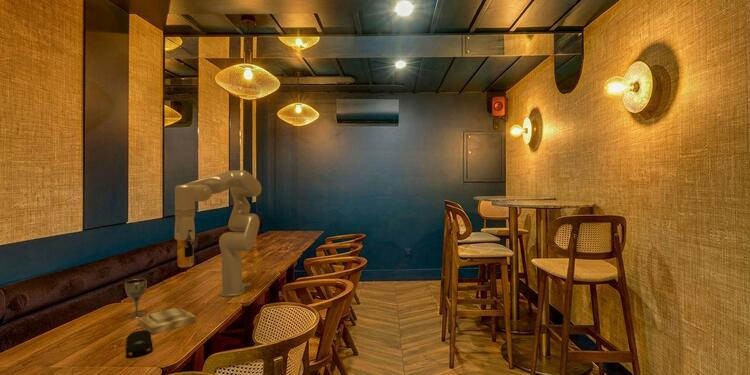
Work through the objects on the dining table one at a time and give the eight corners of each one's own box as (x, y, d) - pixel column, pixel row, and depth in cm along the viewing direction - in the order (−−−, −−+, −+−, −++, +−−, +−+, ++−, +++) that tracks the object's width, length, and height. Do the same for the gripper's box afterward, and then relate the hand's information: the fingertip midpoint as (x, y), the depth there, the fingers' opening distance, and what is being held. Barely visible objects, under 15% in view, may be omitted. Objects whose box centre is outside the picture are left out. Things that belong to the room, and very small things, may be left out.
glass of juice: (181, 265, 157) (181, 230, 157) (195, 264, 158) (195, 230, 158) (174, 267, 151) (174, 232, 151) (190, 267, 152) (189, 231, 152)
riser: (180, 313, 158) (180, 304, 158) (195, 322, 148) (195, 312, 148) (138, 324, 146) (138, 314, 146) (151, 335, 136) (151, 324, 136)
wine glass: (151, 313, 159) (150, 279, 159) (133, 319, 152) (132, 284, 152) (140, 311, 162) (139, 277, 162) (121, 317, 155) (120, 282, 155)
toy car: (125, 361, 116) (125, 345, 116) (126, 342, 130) (125, 328, 130) (153, 354, 121) (152, 339, 121) (150, 337, 134) (150, 324, 134)
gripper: (167, 213, 158) (168, 255, 157) (184, 214, 146) (184, 259, 146) (185, 212, 163) (186, 252, 163) (203, 213, 152) (203, 256, 152)
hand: (185, 255), depth 155 cm, fingers closed on glass of juice, 6 cm apart
